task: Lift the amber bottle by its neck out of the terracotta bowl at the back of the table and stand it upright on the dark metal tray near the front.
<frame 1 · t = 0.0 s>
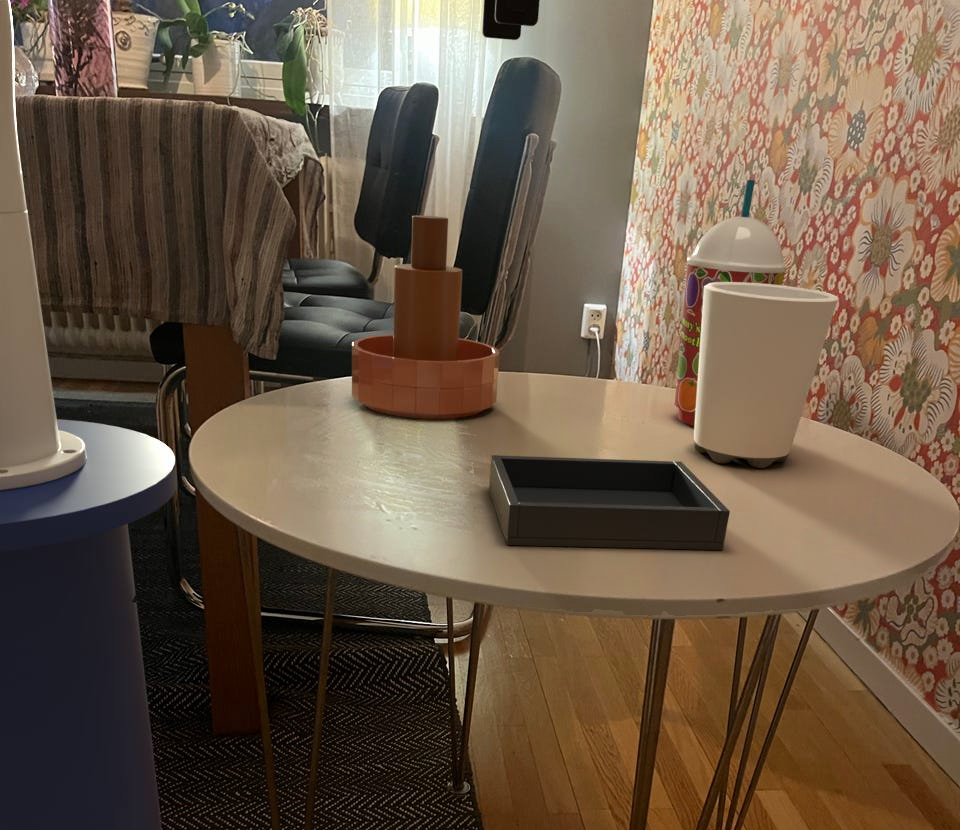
hand: (508, 31, 75), 29 cm above the table, tool pointing down, fingers open, 9 cm apart
bowl: (423, 403, 86), on the table
cup: (738, 458, 77), on the table
bottle: (424, 396, 86), point 1 cm above the table, touching bowl
smoothie: (709, 424, 87), on the table
tray: (598, 518, 61), on the table
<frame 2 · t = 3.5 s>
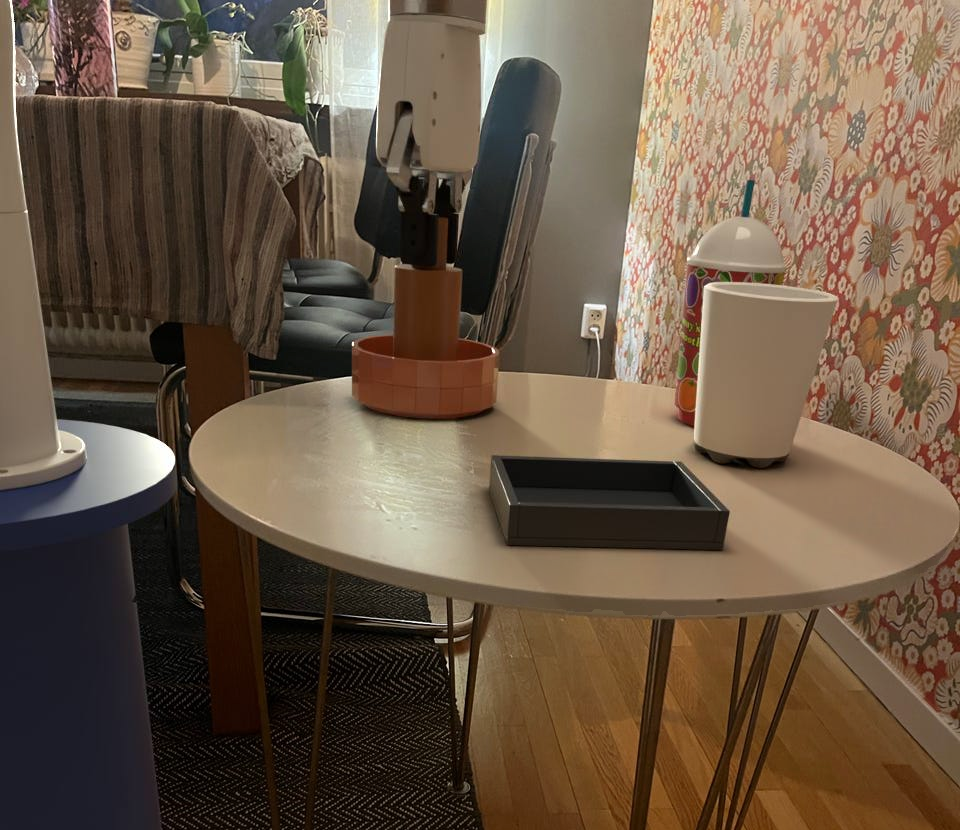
hand: (428, 261, 81), 12 cm above the table, tool pointing down, fingers closed on bottle, 3 cm apart
bottle: (424, 396, 86), point 1 cm above the table, touching bowl, gripper
everything else where it was.
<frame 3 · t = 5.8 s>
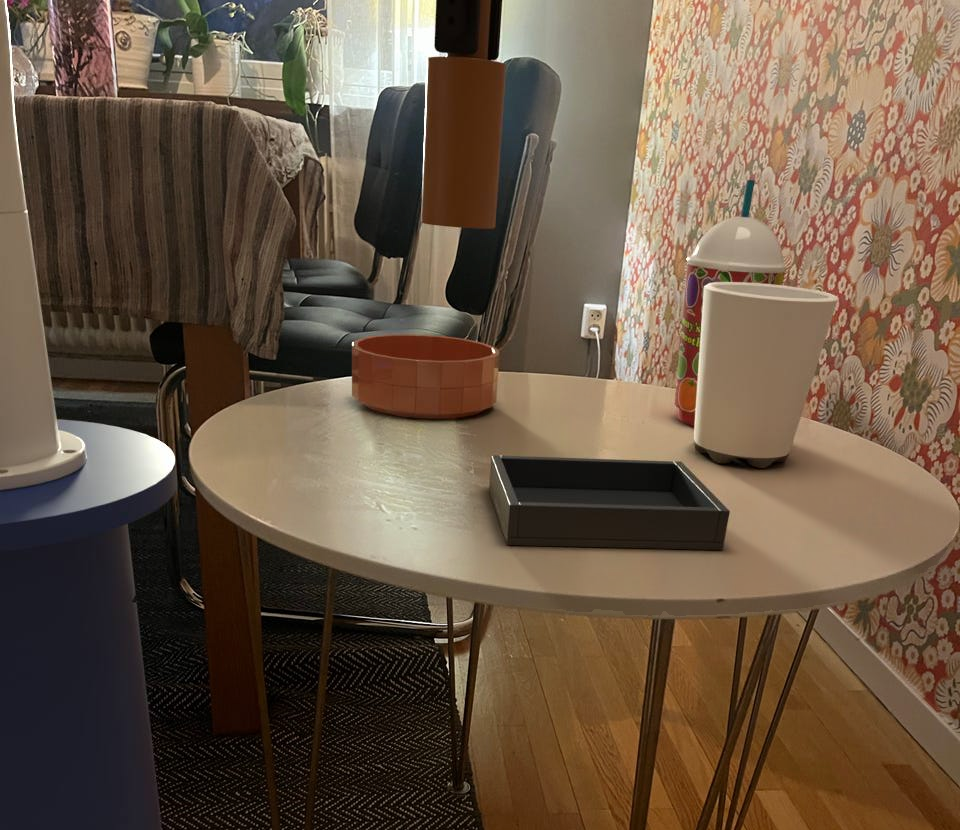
hand: (467, 53, 69), 27 cm above the table, tool pointing down, fingers closed on bottle, 3 cm apart
bottle: (458, 225, 74), point 15 cm above the table, touching gripper
everything else where it was.
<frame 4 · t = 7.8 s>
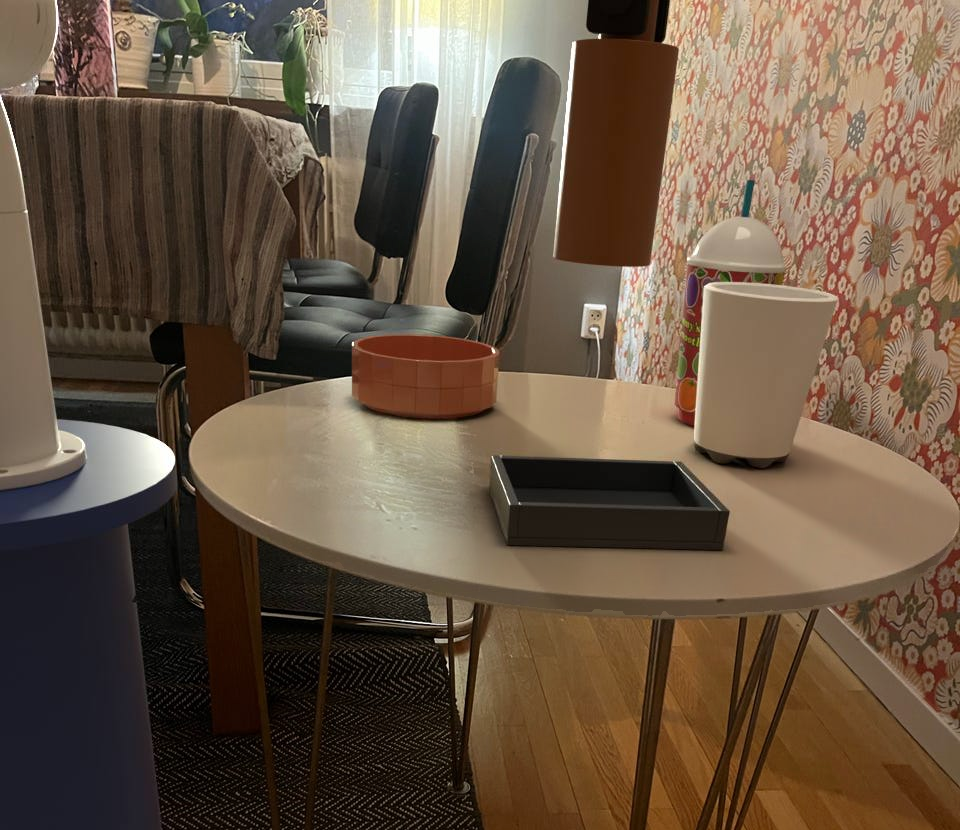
hand: (626, 34, 52), 27 cm above the table, tool pointing down, fingers closed on bottle, 3 cm apart
bottle: (601, 261, 57), point 15 cm above the table, touching gripper
everything else where it was.
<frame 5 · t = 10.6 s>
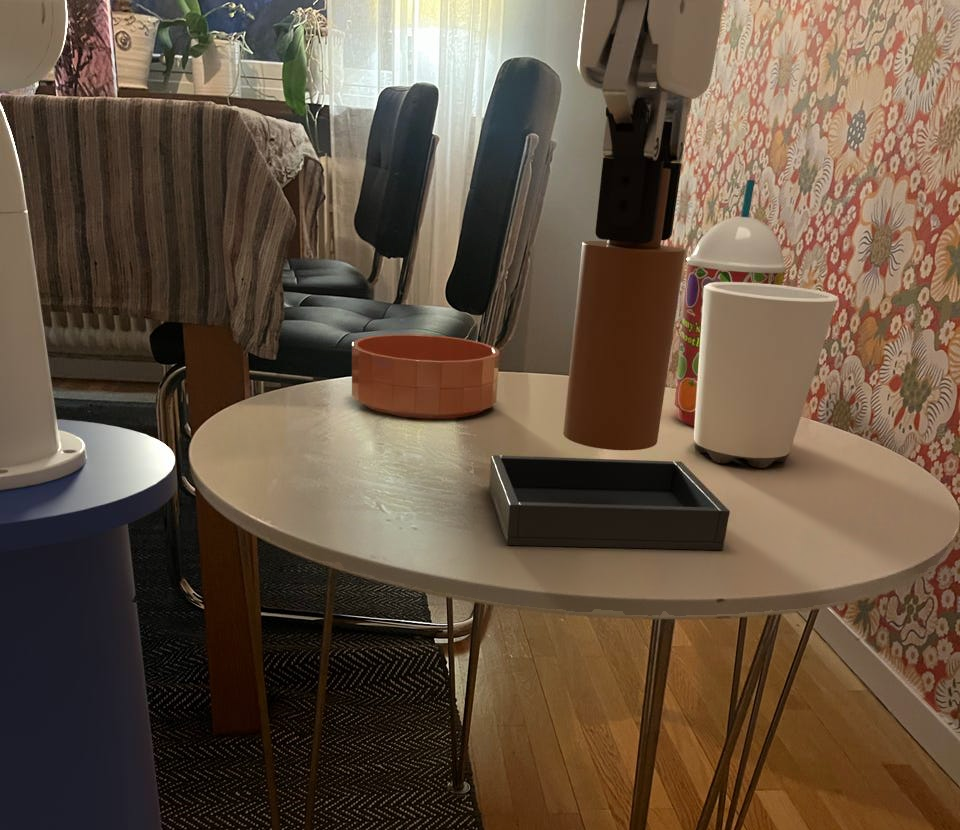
hand: (634, 236, 53), 17 cm above the table, tool pointing down, fingers closed on bottle, 3 cm apart
bottle: (609, 437, 59), point 5 cm above the table, touching gripper
everything else where it was.
when the fingers open (12 cm above the table, at t = 12.2 s): bottle stays where it is, resting on tray.
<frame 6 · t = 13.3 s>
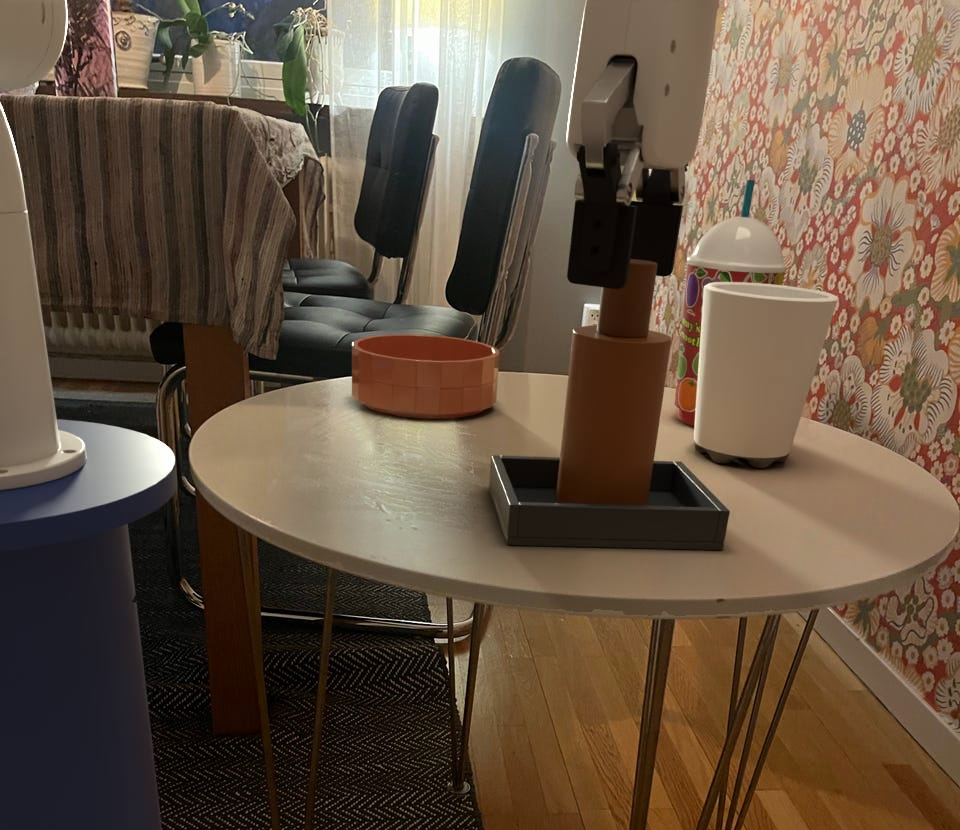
hand: (622, 279, 54), 14 cm above the table, tool pointing down, fingers open, 9 cm apart
bottle: (600, 511, 61), resting on tray
everything else where it was.
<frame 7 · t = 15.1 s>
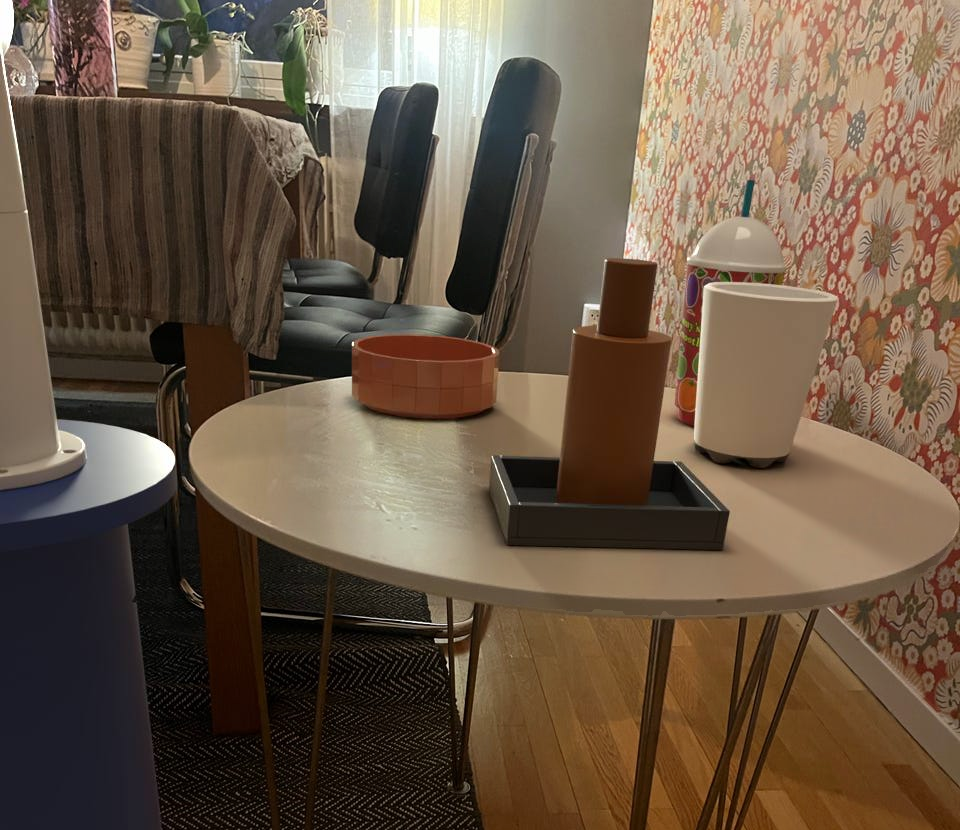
nothing on the table moved.
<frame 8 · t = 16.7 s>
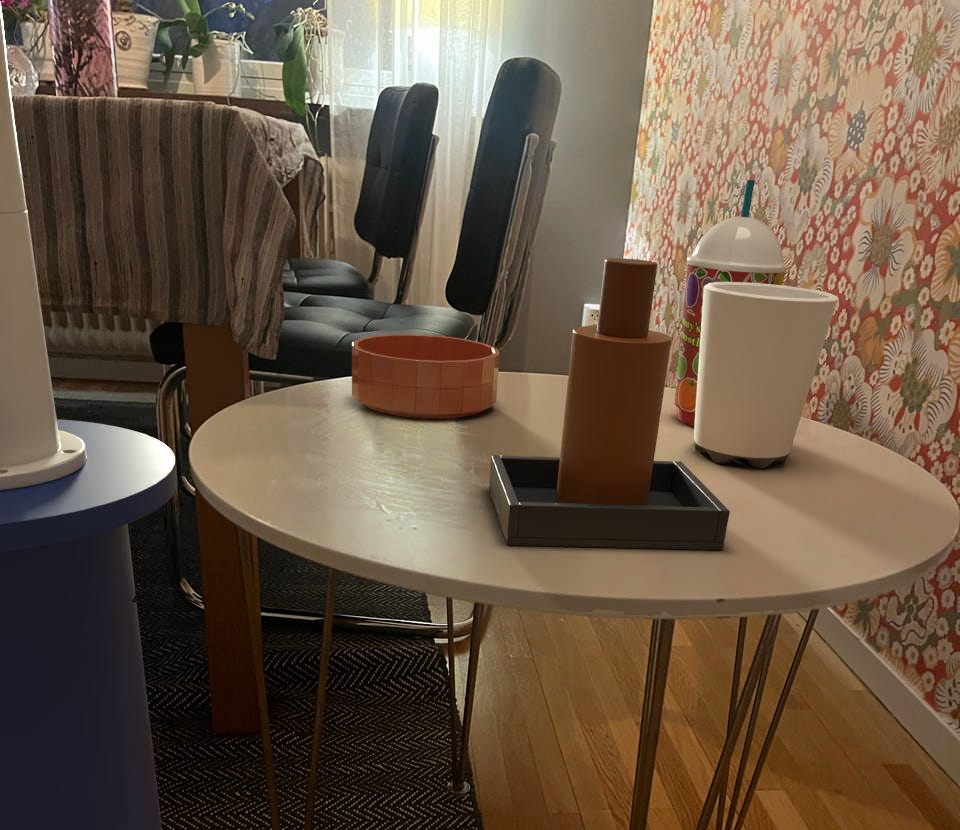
nothing on the table moved.
at the end: bottle 0.0 cm off-centre in the tray, point 0.5 cm above the tray's base; bottle tilted 0°; the gripper is holding nothing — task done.
